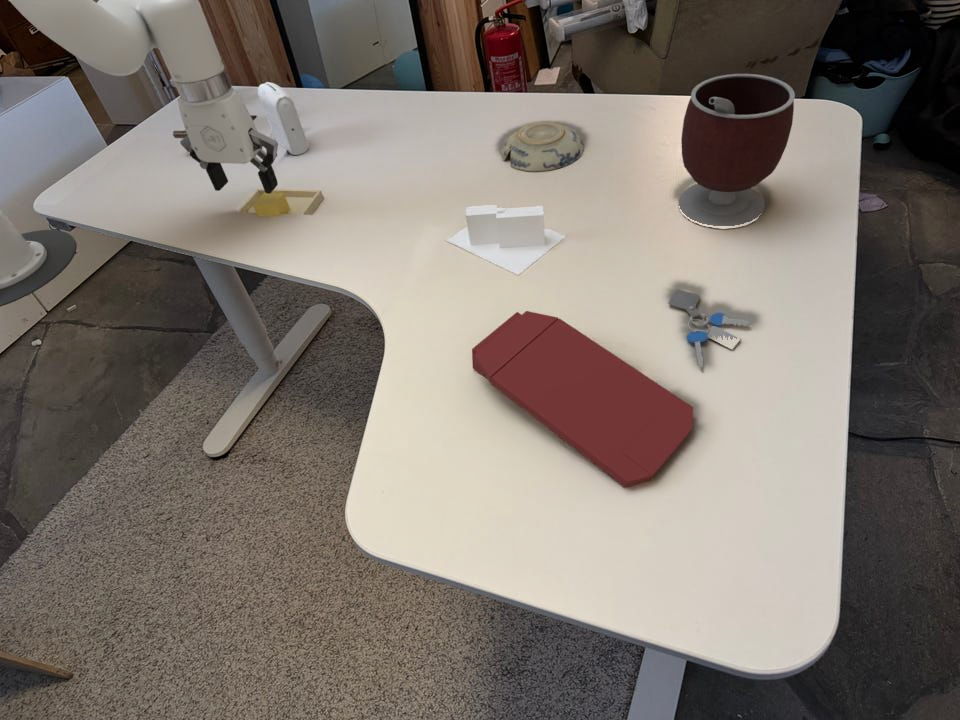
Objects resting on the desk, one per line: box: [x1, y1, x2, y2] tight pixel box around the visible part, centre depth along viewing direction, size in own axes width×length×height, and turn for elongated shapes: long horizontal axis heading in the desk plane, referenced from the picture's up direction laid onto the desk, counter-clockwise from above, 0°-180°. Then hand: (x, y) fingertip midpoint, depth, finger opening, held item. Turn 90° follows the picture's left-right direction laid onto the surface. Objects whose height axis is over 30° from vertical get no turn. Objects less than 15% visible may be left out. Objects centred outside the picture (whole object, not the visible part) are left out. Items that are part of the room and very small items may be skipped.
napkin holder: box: [446, 204, 567, 276], centre depth 91 cm, size 15×11×6 cm
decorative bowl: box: [500, 120, 585, 173], centre depth 109 cm, size 15×4×15 cm
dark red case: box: [471, 310, 694, 488], centre depth 69 cm, size 12×5×25 cm
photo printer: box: [257, 81, 309, 156], centre depth 119 cm, size 10×4×12 cm, turn 37°
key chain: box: [667, 289, 751, 369], centre depth 75 cm, size 14×8×1 cm, turn 5°
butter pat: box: [253, 193, 290, 217], centre depth 104 cm, size 4×4×3 cm
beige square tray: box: [236, 188, 324, 216], centre depth 105 cm, size 13×13×2 cm
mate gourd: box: [678, 73, 796, 226], centre depth 84 cm, size 16×14×20 cm
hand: (247, 187), depth 102 cm, fingers open, 9 cm apart
